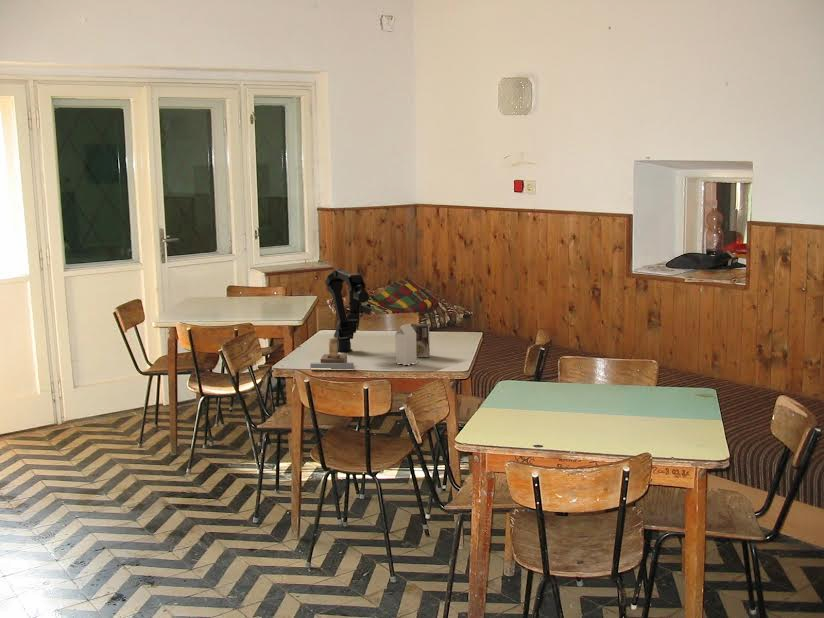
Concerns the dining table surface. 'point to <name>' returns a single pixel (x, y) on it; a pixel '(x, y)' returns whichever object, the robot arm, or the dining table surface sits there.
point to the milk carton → (405, 345)
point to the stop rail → (333, 365)
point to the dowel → (333, 348)
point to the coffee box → (422, 339)
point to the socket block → (334, 359)
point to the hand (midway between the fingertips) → (355, 331)
